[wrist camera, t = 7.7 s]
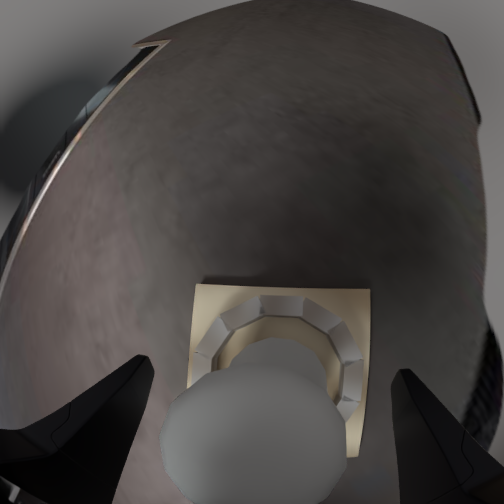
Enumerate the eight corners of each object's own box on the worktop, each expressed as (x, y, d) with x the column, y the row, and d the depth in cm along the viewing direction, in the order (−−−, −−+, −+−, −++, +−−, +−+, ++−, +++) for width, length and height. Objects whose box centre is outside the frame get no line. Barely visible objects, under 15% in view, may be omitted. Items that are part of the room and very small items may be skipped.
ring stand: (355, 452, 14) (362, 464, 12) (188, 442, 16) (177, 452, 14) (366, 291, 18) (376, 284, 16) (199, 286, 20) (188, 278, 18)
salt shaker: (306, 326, 17) (350, 284, 5) (333, 405, 15) (412, 510, 3) (221, 353, 17) (87, 363, 5) (247, 431, 15) (172, 556, 3)
